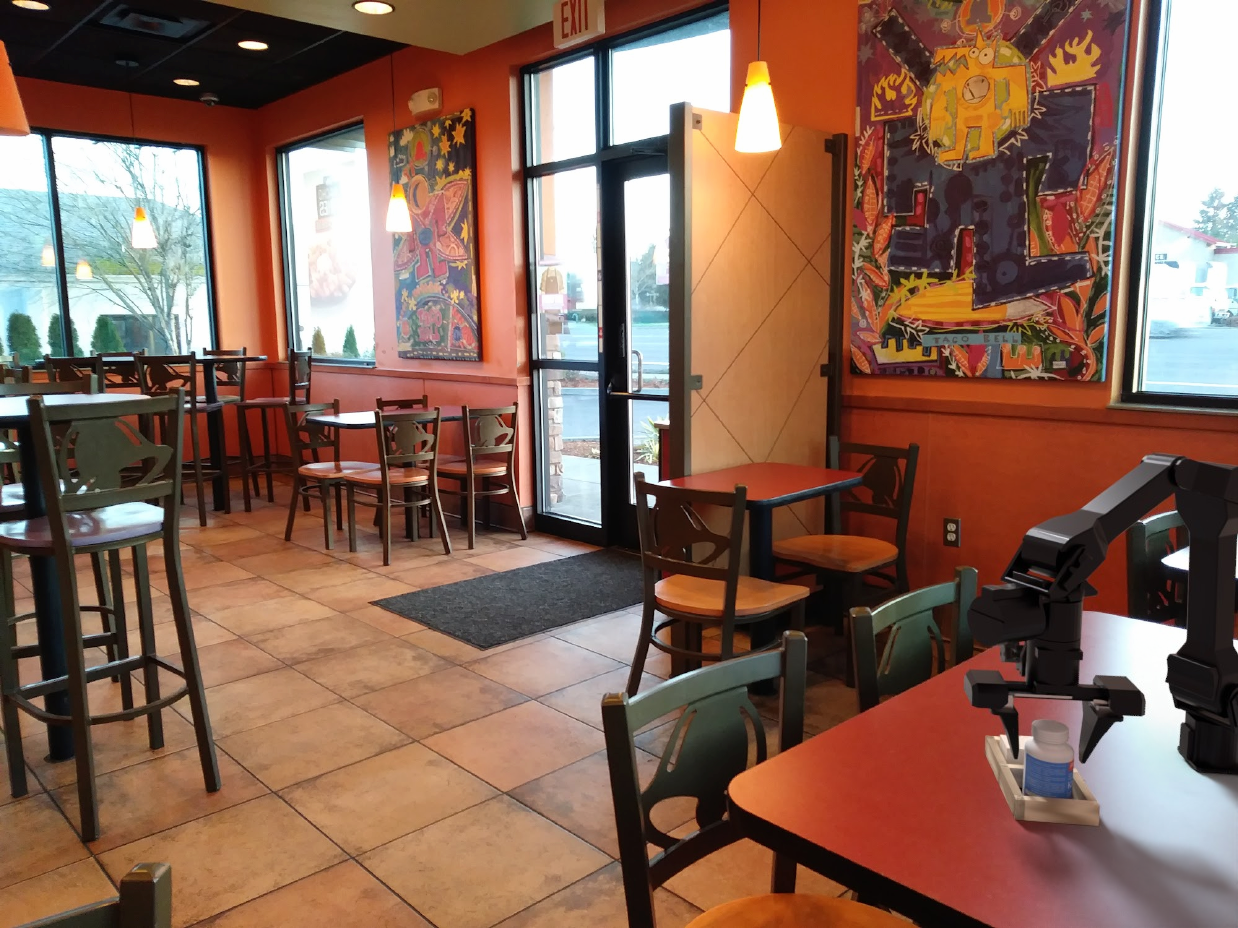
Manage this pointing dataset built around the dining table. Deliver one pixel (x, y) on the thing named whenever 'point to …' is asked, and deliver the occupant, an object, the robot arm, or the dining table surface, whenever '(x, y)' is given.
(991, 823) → the dining table surface
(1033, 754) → the pill bottle
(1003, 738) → the cream block
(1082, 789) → the caddy
